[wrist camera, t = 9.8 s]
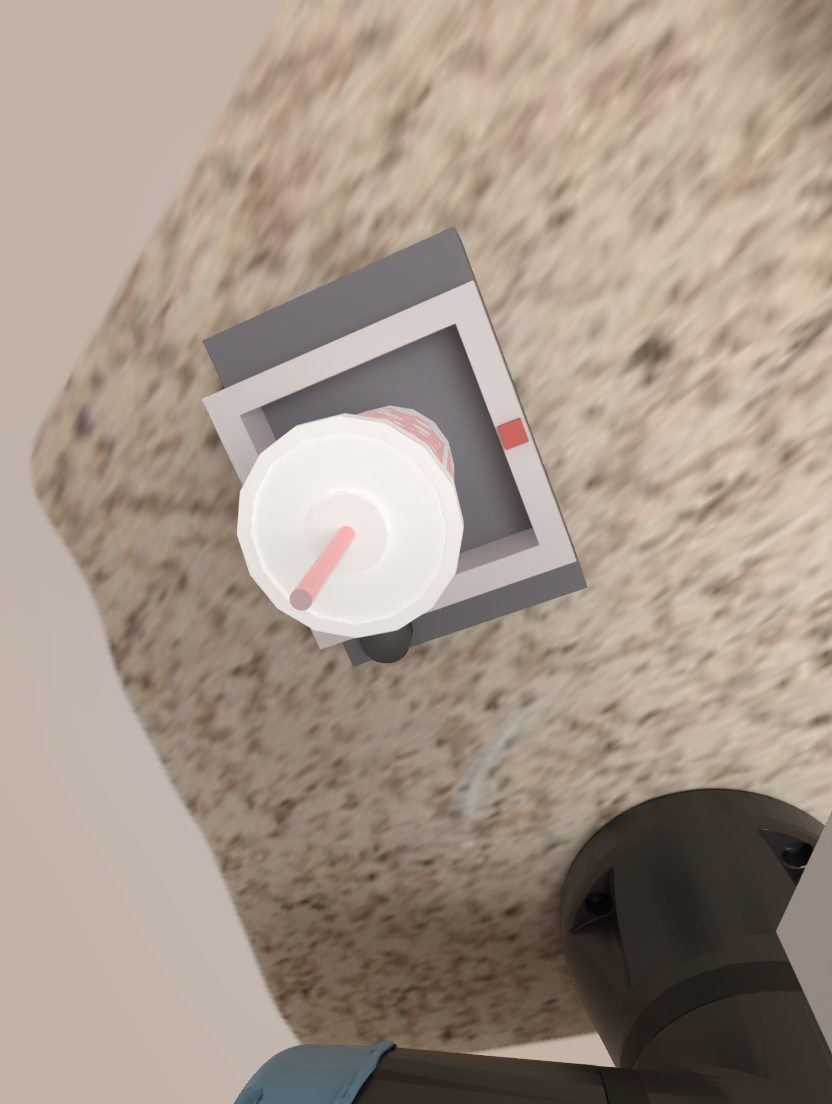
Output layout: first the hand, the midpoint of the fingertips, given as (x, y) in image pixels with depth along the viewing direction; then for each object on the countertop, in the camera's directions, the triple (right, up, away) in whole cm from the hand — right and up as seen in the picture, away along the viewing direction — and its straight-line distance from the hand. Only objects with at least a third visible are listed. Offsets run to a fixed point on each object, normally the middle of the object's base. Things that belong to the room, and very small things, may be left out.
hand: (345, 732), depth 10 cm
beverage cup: (0, +6, +18) cm, 19 cm away
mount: (+1, +7, +23) cm, 24 cm away
